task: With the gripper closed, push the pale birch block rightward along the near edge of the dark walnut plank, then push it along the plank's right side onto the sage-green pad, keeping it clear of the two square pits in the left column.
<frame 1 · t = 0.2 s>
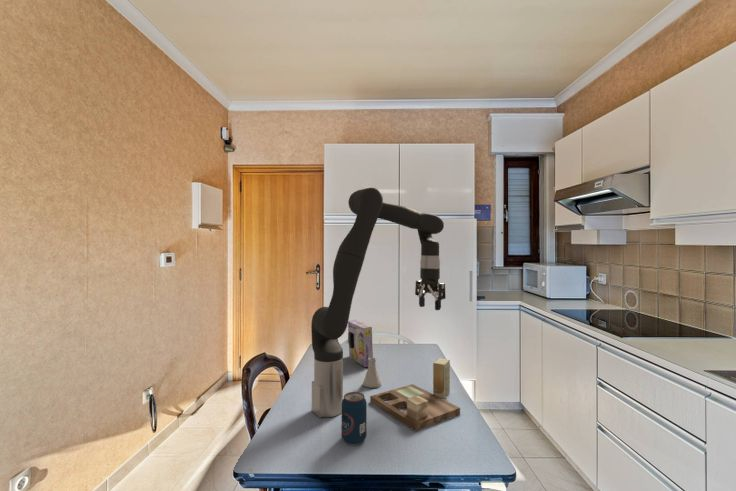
hand: (429, 308, 140), 29 cm above the table, tool pointing down, fingers open, 8 cm apart
birch block: (417, 414, 109), point 2 cm above the table, touching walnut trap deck
skincare box: (441, 395, 128), on the table
flask: (372, 385, 137), on the table
soda can: (354, 440, 98), on the table
cake pan box: (359, 361, 165), on the table
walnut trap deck: (413, 407, 118), on the table
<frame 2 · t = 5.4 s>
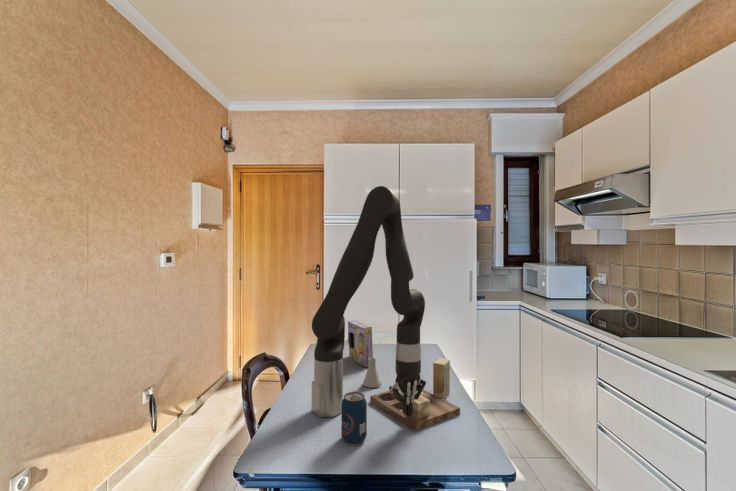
hand: (407, 414, 106), 3 cm above the table, tool pointing down, fingers closed
birch block: (419, 413, 109), point 2 cm above the table, touching gripper
everything else where it was.
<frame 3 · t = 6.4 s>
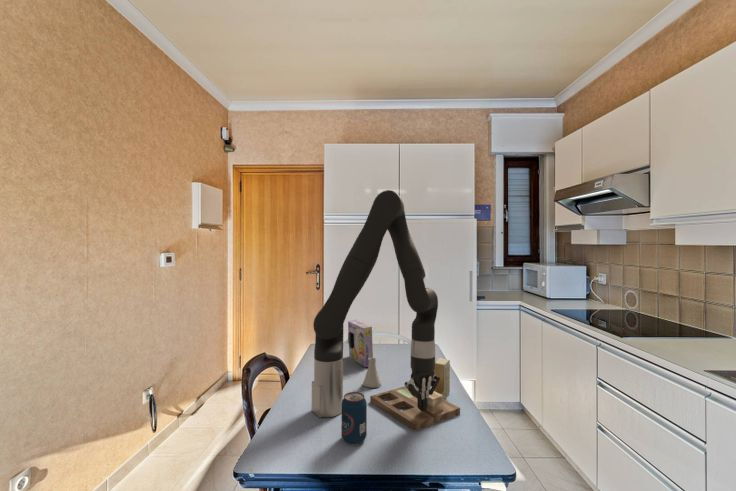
hand: (422, 409, 110), 3 cm above the table, tool pointing down, fingers closed
birch block: (433, 409, 112), point 2 cm above the table, touching gripper, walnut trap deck
everything else where it was.
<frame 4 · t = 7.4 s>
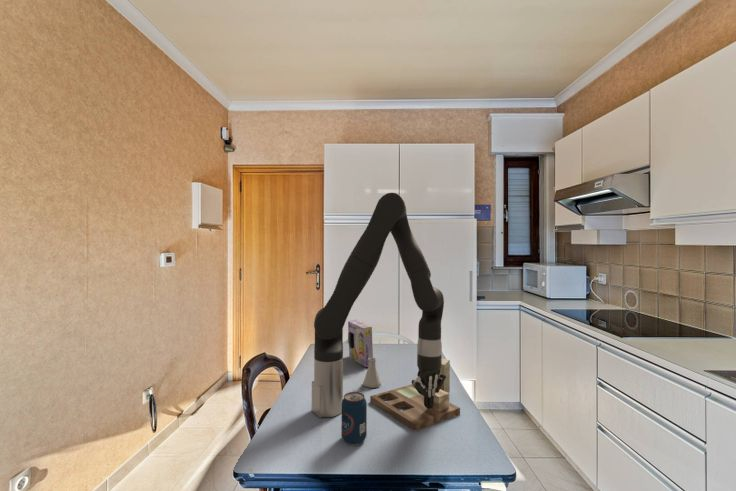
hand: (428, 407, 111), 3 cm above the table, tool pointing down, fingers closed
birch block: (439, 406, 114), point 2 cm above the table, touching gripper, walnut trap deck
everything else where it was.
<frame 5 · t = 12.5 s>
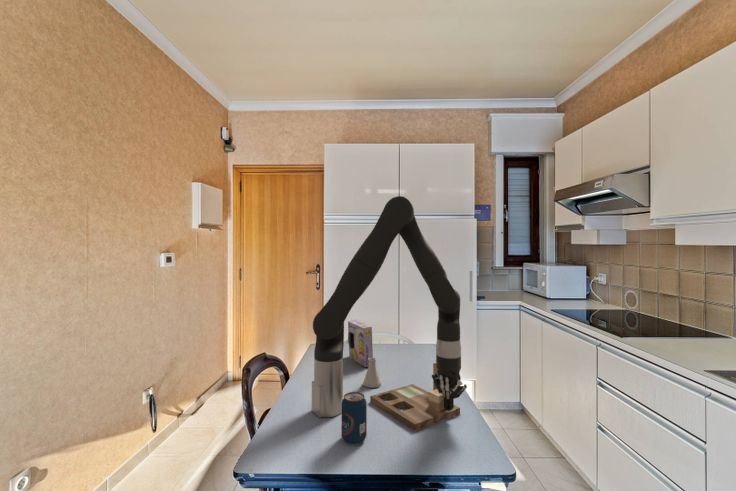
hand: (448, 409, 110), 3 cm above the table, tool pointing down, fingers closed
nothing on the table moved.
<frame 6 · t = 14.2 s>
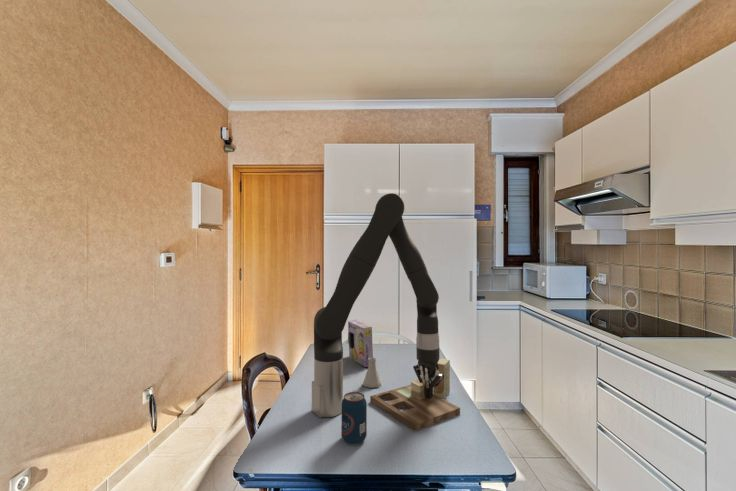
hand: (428, 397, 118), 3 cm above the table, tool pointing down, fingers closed
birch block: (420, 395, 122), point 2 cm above the table, touching gripper, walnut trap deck
everything else where it was.
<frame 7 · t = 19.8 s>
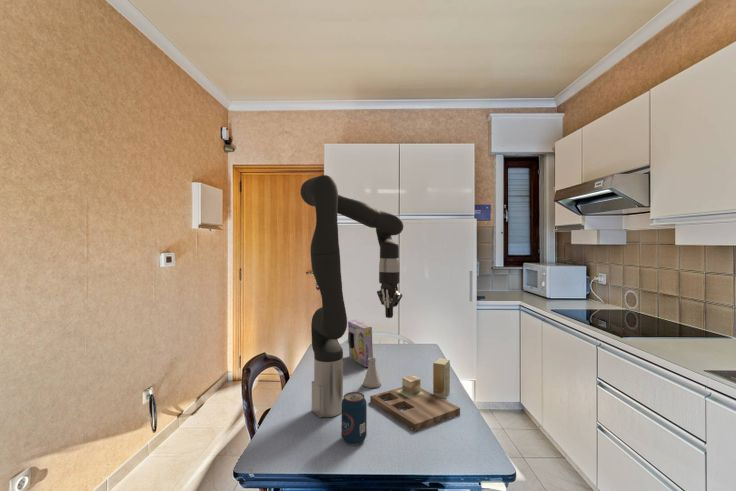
hand: (389, 317, 131), 27 cm above the table, tool pointing down, fingers closed
birch block: (411, 391, 126), point 2 cm above the table, touching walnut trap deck
everything else where it was.
at the end: birch block inside the target area (1.2 cm from its centre), point 2.0 cm above the table; birch block tilted 0° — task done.
